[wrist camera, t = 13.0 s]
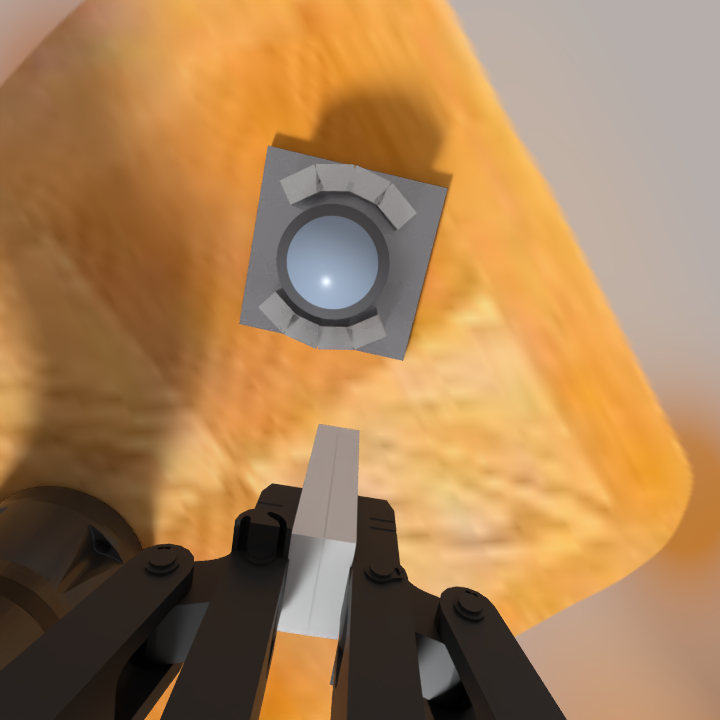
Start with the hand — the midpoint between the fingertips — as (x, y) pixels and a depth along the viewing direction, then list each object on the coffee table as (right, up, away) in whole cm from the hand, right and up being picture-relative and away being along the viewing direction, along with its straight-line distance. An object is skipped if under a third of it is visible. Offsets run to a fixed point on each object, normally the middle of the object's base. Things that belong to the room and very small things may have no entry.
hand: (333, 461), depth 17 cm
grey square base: (-1, +11, +18) cm, 22 cm away
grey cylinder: (-1, +11, +17) cm, 21 cm away
